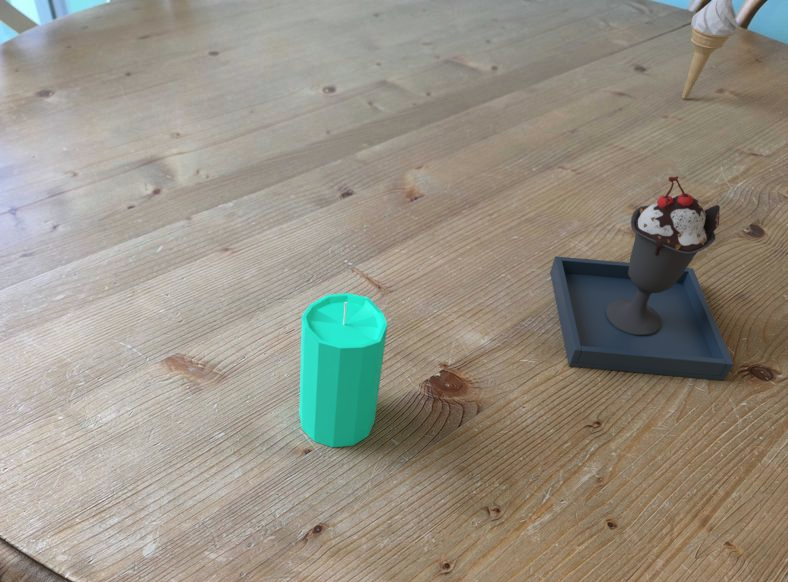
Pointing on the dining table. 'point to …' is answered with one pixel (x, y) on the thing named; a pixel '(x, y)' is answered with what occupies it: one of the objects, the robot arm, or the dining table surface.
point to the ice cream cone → (709, 35)
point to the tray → (627, 351)
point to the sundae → (661, 255)
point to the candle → (340, 368)
